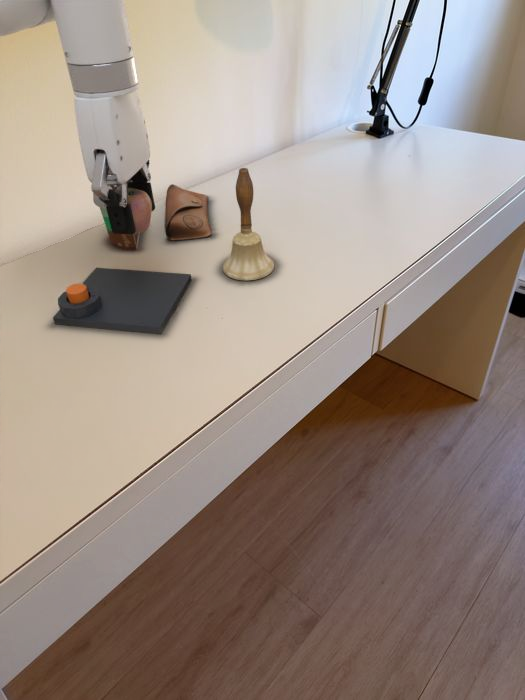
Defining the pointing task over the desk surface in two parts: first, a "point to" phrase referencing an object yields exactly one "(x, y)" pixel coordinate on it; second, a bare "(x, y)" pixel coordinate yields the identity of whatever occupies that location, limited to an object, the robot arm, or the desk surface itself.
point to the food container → (116, 239)
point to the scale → (125, 300)
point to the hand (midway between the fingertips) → (134, 220)
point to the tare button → (77, 293)
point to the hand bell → (247, 239)
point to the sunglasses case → (186, 214)
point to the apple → (139, 208)
